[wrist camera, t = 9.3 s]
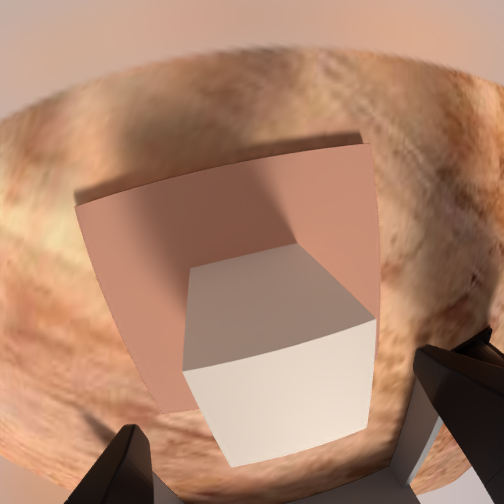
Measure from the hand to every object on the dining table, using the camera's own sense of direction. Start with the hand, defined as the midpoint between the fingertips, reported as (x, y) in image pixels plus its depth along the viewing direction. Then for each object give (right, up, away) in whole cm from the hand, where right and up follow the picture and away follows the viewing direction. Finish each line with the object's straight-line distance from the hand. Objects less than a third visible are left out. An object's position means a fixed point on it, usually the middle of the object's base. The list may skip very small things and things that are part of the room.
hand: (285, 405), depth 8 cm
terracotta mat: (-1, +2, +7) cm, 7 cm away
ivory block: (-1, +2, +7) cm, 7 cm away
